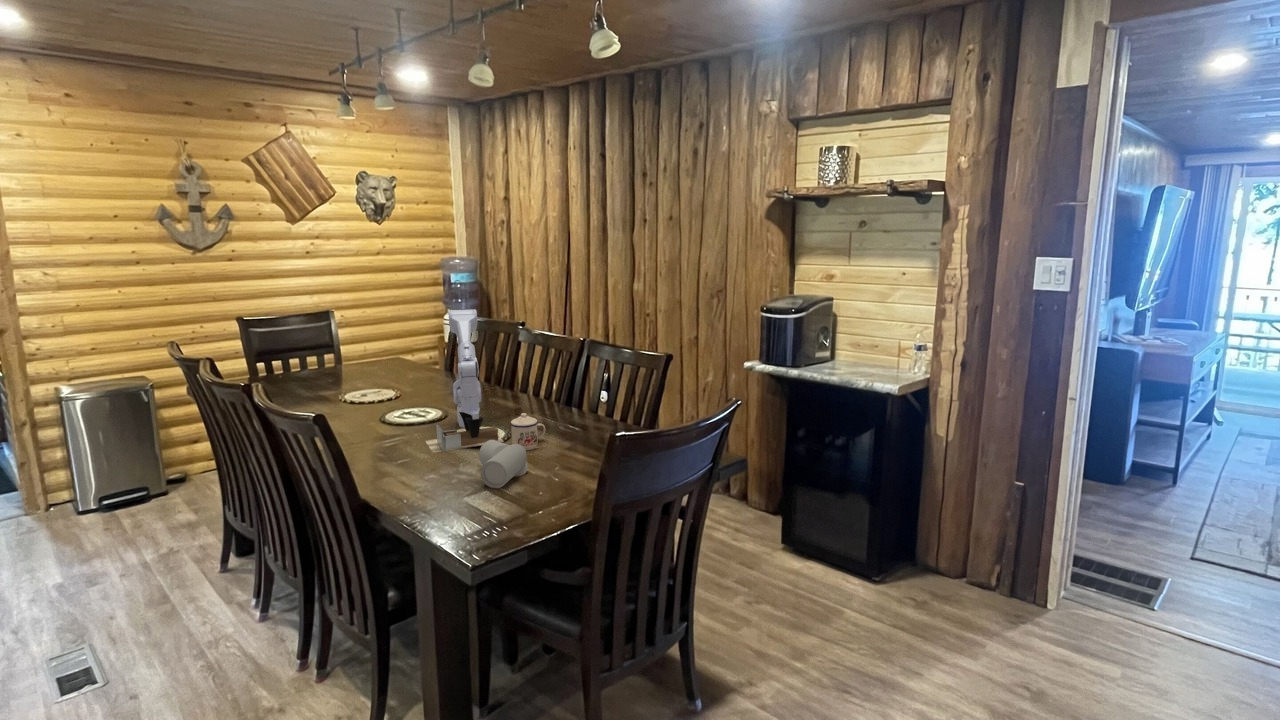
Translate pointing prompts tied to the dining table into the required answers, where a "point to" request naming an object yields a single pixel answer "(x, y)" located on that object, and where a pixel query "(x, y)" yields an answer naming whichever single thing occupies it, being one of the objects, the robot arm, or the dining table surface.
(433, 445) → the base board
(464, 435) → the rail
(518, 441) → the teacup with lid
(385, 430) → the dining table surface
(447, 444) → the bracket
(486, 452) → the elbow connector
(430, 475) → the dining table surface
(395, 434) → the dining table surface
